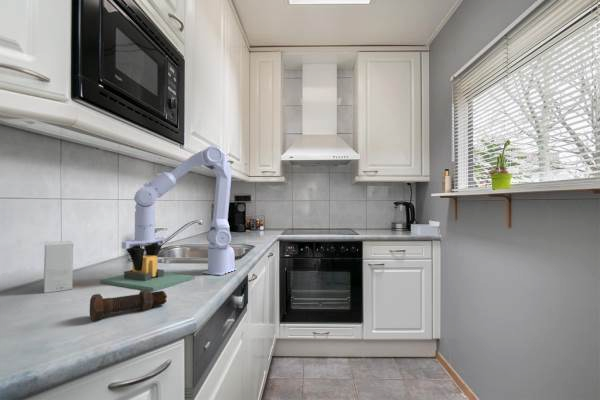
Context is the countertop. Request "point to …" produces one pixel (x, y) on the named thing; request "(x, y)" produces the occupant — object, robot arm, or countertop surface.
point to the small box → (58, 266)
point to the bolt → (124, 303)
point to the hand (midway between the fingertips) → (144, 268)
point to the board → (147, 280)
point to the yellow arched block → (148, 265)
